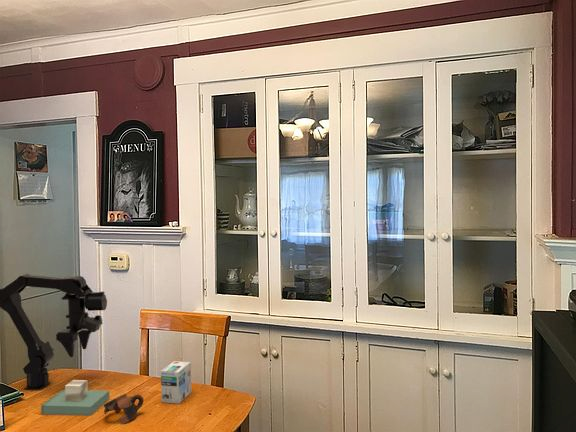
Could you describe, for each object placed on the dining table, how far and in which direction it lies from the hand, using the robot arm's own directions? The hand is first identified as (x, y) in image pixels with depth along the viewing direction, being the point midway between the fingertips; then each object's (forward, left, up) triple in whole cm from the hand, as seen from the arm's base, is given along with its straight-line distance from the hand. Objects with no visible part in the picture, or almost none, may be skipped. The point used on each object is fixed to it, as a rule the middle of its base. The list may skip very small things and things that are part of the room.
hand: (78, 352), depth 181 cm
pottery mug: (+28, -25, -12) cm, 40 cm away
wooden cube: (+9, -18, -9) cm, 22 cm away
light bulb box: (+40, -9, -12) cm, 43 cm away
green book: (+9, -18, -12) cm, 23 cm away
